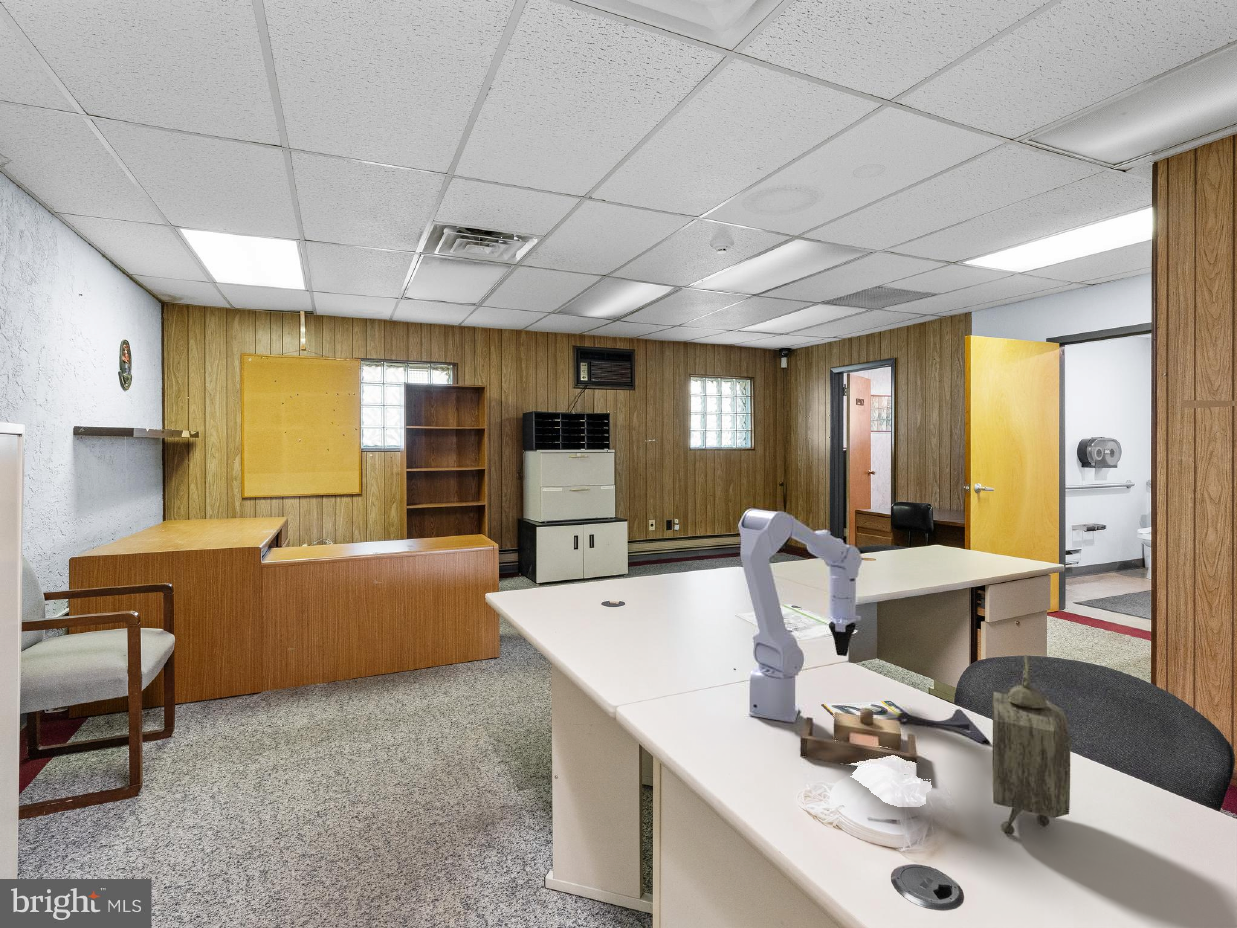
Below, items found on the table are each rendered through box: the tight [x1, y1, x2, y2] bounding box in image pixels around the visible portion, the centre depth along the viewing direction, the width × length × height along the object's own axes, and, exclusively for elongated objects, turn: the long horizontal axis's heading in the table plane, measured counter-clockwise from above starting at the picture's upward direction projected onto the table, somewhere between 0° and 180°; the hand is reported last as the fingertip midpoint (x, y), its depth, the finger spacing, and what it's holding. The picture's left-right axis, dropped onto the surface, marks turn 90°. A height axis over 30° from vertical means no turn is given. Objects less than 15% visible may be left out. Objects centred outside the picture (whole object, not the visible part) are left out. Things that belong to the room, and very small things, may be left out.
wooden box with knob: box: [833, 707, 902, 751], centre depth 121 cm, size 12×6×6 cm, turn 69°
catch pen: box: [799, 716, 918, 765], centre depth 115 cm, size 19×10×4 cm, turn 67°
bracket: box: [896, 708, 991, 746], centre depth 127 cm, size 14×15×3 cm
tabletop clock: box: [991, 655, 1071, 836], centre depth 94 cm, size 14×9×25 cm, turn 150°
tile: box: [850, 732, 879, 748], centre depth 116 cm, size 5×5×2 cm
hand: (842, 654), depth 143 cm, fingers closed
